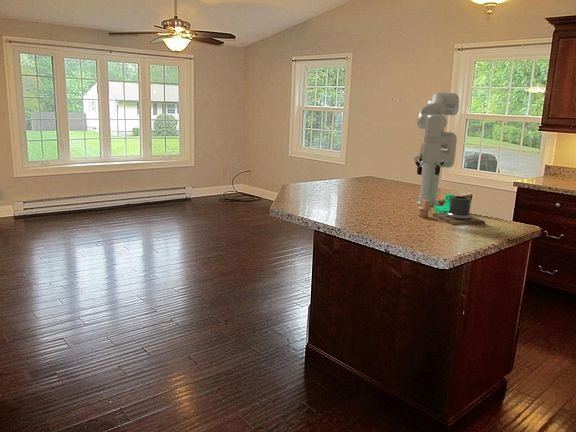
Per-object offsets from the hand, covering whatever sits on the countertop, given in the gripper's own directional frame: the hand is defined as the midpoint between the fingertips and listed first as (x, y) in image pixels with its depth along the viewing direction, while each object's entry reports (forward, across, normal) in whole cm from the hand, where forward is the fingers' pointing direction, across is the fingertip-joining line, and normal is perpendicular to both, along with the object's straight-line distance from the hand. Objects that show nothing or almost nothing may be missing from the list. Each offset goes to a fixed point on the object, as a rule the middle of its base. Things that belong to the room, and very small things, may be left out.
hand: (428, 174), depth 244 cm
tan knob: (+22, 0, 0) cm, 22 cm away
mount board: (+22, -15, +8) cm, 28 cm away
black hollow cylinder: (+20, -15, +8) cm, 27 cm away
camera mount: (+22, -18, -9) cm, 30 cm away
